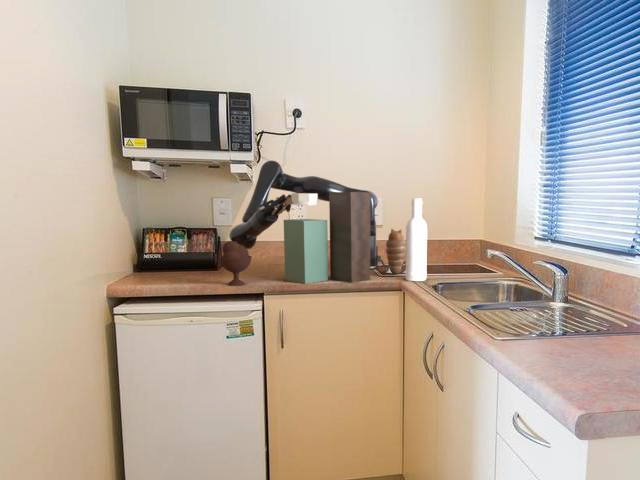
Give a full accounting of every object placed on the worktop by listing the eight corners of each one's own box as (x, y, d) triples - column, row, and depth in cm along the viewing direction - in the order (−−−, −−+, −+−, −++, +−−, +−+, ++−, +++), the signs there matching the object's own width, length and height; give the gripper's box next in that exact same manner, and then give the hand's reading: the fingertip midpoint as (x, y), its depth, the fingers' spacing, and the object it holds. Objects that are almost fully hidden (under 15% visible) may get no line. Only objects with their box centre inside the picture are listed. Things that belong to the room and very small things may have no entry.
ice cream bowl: (232, 288, 170) (230, 242, 167) (213, 284, 176) (211, 240, 174) (259, 284, 178) (257, 241, 176) (240, 280, 185) (238, 239, 182)
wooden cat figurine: (409, 274, 206) (410, 229, 203) (397, 276, 200) (397, 230, 197) (393, 271, 211) (393, 228, 209) (380, 273, 205) (380, 228, 203)
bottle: (416, 277, 197) (417, 198, 193) (430, 279, 192) (432, 198, 187) (400, 279, 192) (401, 198, 187) (415, 282, 186) (416, 198, 182)
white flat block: (288, 203, 196) (288, 193, 195) (323, 205, 184) (323, 193, 183) (268, 203, 189) (268, 192, 188) (303, 205, 177) (303, 193, 176)
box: (308, 277, 195) (307, 219, 192) (328, 280, 189) (327, 220, 185) (285, 280, 187) (283, 219, 183) (305, 283, 180) (303, 220, 177)
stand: (349, 276, 198) (348, 192, 193) (370, 279, 191) (370, 192, 186) (330, 279, 190) (329, 192, 185) (351, 282, 183) (351, 192, 178)
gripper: (245, 210, 194) (269, 187, 184) (275, 209, 205) (299, 188, 195) (251, 227, 193) (276, 205, 183) (281, 226, 204) (306, 205, 193)
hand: (288, 196), depth 189 cm, fingers closed on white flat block, 2 cm apart
